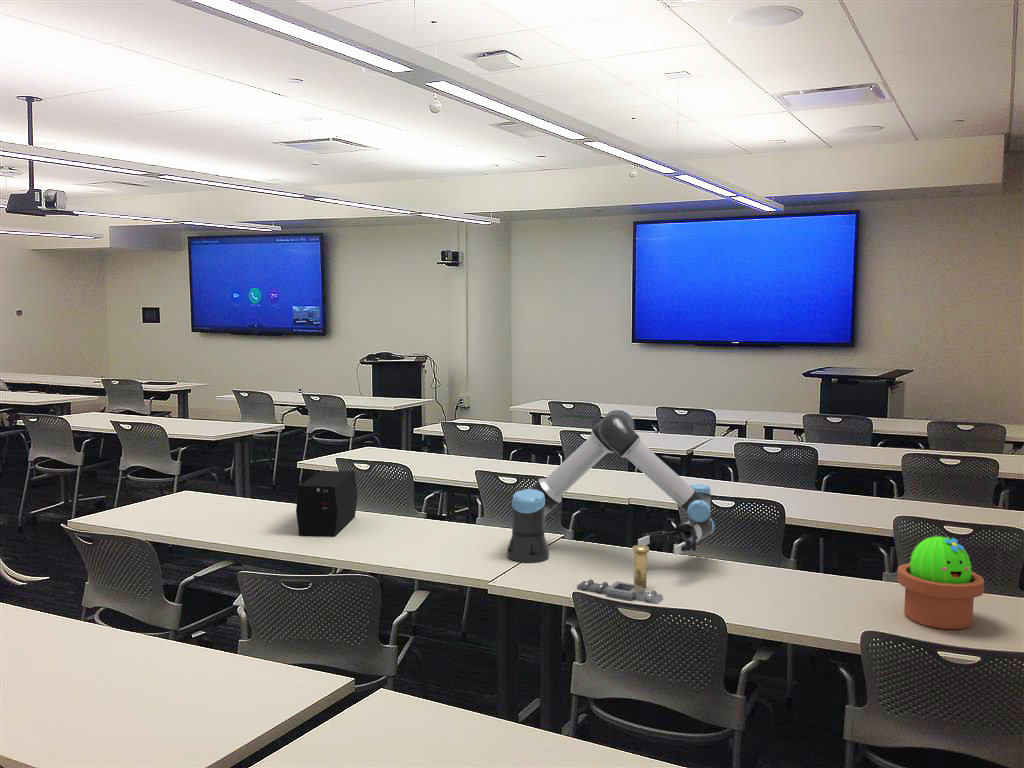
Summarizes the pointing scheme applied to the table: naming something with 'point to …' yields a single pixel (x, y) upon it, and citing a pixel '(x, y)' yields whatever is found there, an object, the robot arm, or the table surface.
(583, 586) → the chain end left
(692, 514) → the robot arm
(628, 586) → the chain end right
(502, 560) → the table surface
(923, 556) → the potted cactus
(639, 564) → the brass pin
